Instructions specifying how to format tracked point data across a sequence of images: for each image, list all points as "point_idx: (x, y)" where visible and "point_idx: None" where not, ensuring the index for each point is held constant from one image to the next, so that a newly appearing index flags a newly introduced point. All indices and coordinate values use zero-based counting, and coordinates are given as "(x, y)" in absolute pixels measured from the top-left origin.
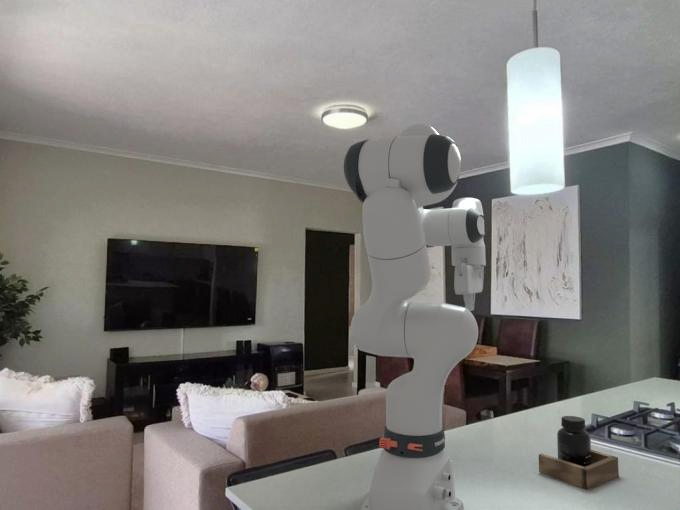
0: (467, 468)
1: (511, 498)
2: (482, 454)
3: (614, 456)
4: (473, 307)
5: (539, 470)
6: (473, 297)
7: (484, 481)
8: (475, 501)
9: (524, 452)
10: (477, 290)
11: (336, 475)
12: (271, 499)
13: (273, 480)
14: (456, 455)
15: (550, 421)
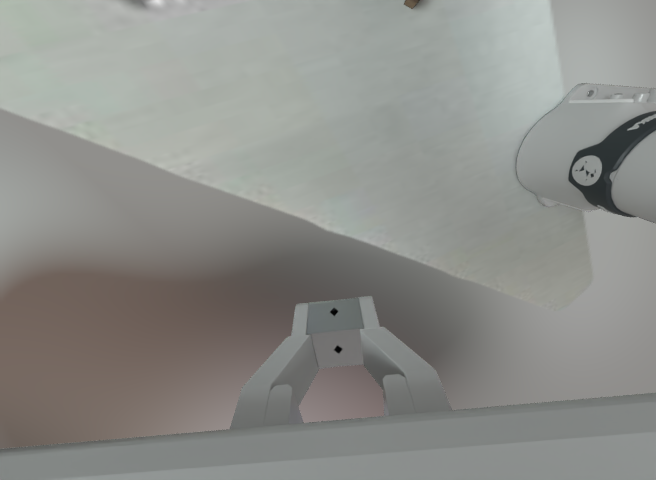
0: (435, 129)
1: (531, 27)
2: (367, 128)
3: None
4: (320, 311)
5: (413, 6)
6: (275, 390)
7: (477, 88)
8: (551, 77)
9: (323, 63)
10: (233, 458)
11: (507, 256)
12: (580, 273)
13: (535, 295)
14: (389, 163)
15: (96, 60)
